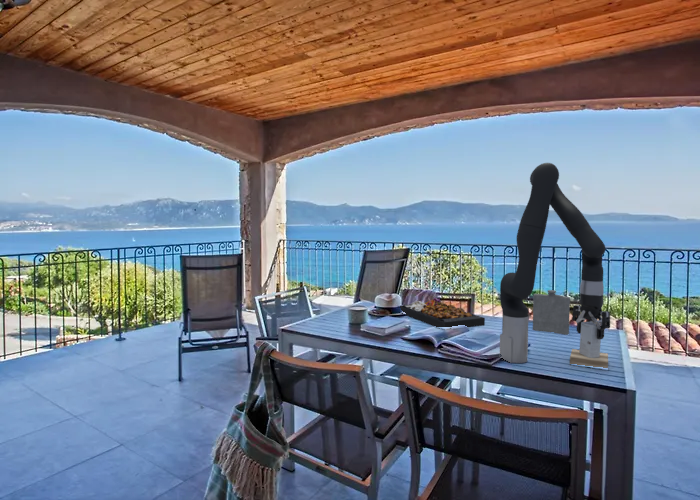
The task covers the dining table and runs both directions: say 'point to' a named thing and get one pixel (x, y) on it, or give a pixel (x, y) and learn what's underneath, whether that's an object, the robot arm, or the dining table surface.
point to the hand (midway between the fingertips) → (589, 336)
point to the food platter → (441, 314)
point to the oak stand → (589, 359)
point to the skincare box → (589, 340)
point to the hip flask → (551, 313)
